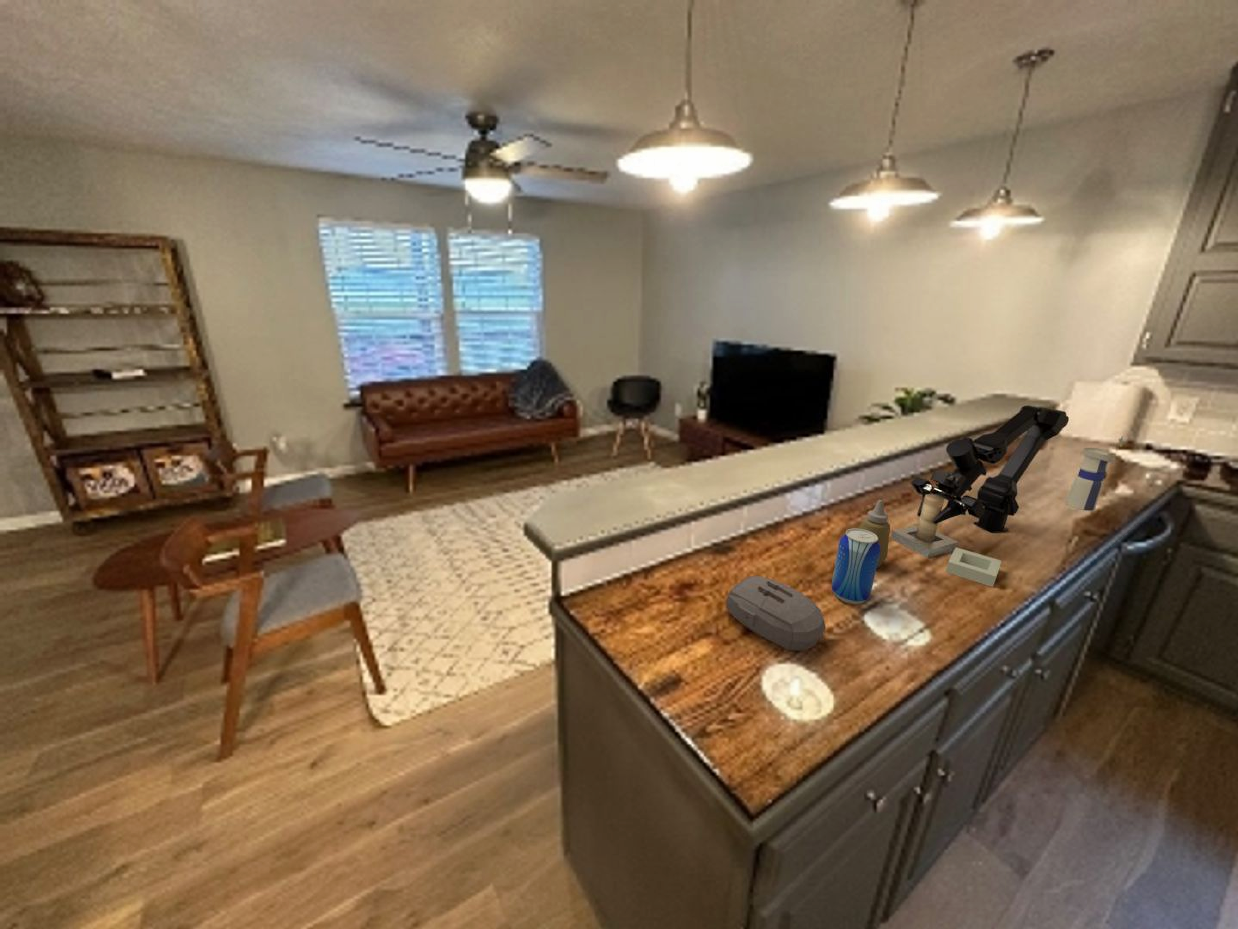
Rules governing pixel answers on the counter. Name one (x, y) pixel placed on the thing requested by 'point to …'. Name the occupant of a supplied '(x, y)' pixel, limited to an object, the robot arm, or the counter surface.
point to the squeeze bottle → (878, 528)
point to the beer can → (855, 566)
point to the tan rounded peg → (929, 518)
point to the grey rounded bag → (776, 613)
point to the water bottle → (1090, 478)
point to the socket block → (928, 550)
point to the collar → (973, 566)
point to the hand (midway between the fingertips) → (926, 519)
